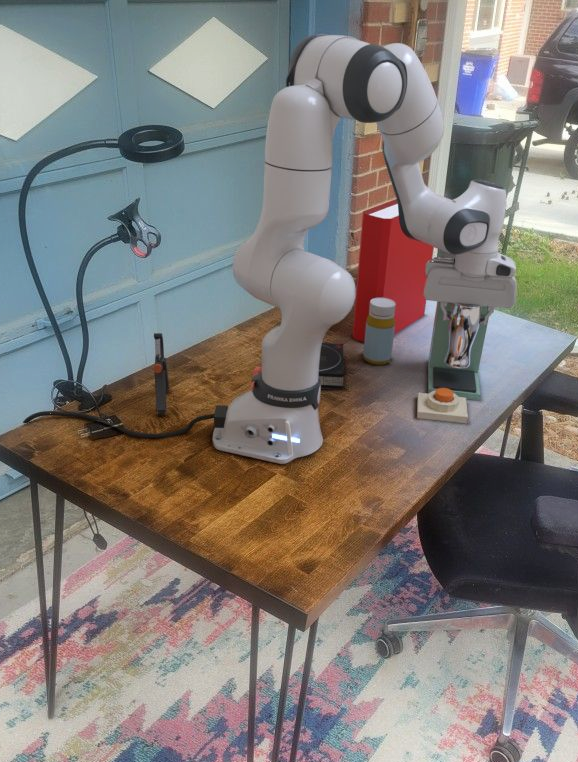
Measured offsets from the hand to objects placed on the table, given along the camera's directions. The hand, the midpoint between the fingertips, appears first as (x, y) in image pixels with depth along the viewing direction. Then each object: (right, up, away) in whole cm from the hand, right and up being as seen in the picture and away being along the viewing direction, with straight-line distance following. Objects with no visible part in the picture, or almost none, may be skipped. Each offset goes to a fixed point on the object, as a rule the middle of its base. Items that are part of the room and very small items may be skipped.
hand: (464, 321), depth 164 cm
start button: (-5, -18, -2) cm, 18 cm away
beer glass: (-1, -8, +6) cm, 10 cm away
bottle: (-19, -5, +19) cm, 27 cm away
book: (-15, +8, +37) cm, 40 cm away
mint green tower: (-1, -11, +13) cm, 17 cm away
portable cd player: (-36, -10, +11) cm, 39 cm away
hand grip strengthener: (-67, -20, -6) cm, 70 cm away
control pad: (-5, -20, 0) cm, 21 cm away
